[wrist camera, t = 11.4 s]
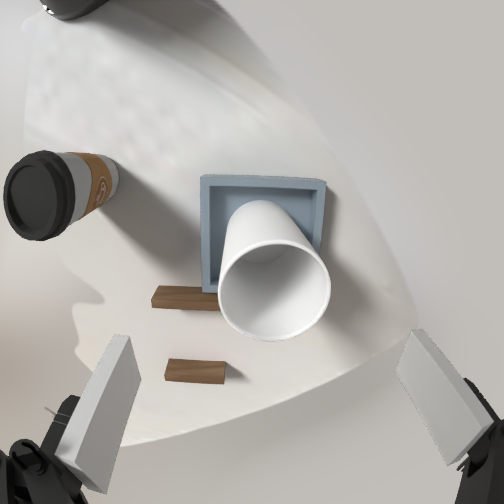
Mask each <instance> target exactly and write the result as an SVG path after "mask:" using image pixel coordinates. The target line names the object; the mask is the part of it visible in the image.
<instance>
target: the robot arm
mask: <svg viewBox="0 0 504 504" xmlns="http://www.w3.org/2000/svg"><path fill="white" fill-rule="evenodd" d="M40 1H41V3H42V4H43V7H44V9H45V11H46V12H47V13H48V14H50V15H52V16H53V17H55V18H57V19H60V20H70V19H74V18H78V17H81V16H83V15H85V14H88V13H89V12H91V11H93V10H95V9H97V8H98V7H100V6H101V5H103V4H104V3H105V2H107V1H108V0H40ZM395 372H396V374H397V376H398V378H399V379H400V381H401V383H402V384H403V386H404V387H405V389H406V391H407V393H408V395H409V396H410V398H411V400H412V401H413V403H414V405H415V407H416V409H417V410H418V412H419V414H420V416H421V418H422V419H423V421H424V423H425V424H426V427H427V428H428V430H429V432H430V434H431V436H432V438H433V440H434V442H435V443H436V445H437V447H438V449H439V451H440V453H441V455H442V457H443V459H444V461H445V463H446V465H447V466H449V465H451V464H453V463H454V462H457V461H459V460H460V459H461V458H462V457H463V456H464V455H465V454H466V453H468V455H469V457H468V458H466V460H465V461H463V462H462V463H461V464H460V466H458V468H457V471H459V470H460V469H461V468H462V467H463V466H464V465H465V466H464V468H463V469H462V470H461V471H462V472H463V475H462V479H461V483H460V487H459V490H458V494H457V497H456V501H455V504H504V419H503V420H500V418H499V417H498V416H497V415H496V413H495V412H494V410H493V409H492V408H491V406H490V405H489V403H488V402H487V401H486V399H484V398H483V395H482V394H481V393H479V390H478V389H477V387H476V386H475V385H474V384H473V383H472V382H471V381H469V380H468V379H467V378H462V377H461V375H460V374H459V373H458V372H457V370H456V369H455V368H454V367H453V365H452V364H451V363H450V361H449V360H448V359H447V358H446V357H445V355H444V354H443V353H442V352H441V350H440V349H439V348H438V347H437V346H436V344H435V343H434V342H433V341H432V340H431V338H430V337H429V336H428V335H427V334H426V333H425V331H424V330H423V329H419V330H412V331H411V332H410V335H409V338H408V340H407V343H406V346H405V348H404V351H403V353H402V356H401V358H400V361H399V363H398V365H397V368H396V370H395ZM140 382H141V376H140V373H139V369H138V366H137V362H136V359H135V355H134V351H133V348H132V344H131V340H130V336H125V335H116V334H114V336H113V338H112V339H111V341H110V343H109V345H108V347H107V348H106V350H105V352H104V354H103V356H102V357H101V359H100V361H99V363H98V365H97V367H96V369H95V370H94V372H93V374H92V376H91V378H90V380H89V382H88V384H87V386H86V388H85V390H84V392H83V394H82V396H81V397H78V396H74V395H70V396H69V397H68V398H67V399H66V400H65V401H64V402H62V404H61V406H60V408H59V410H58V412H57V414H56V416H55V418H54V422H52V424H51V426H50V428H49V430H48V432H47V434H46V436H45V438H44V440H43V442H42V445H41V447H40V448H39V447H38V445H36V444H35V443H34V442H33V441H31V440H28V439H21V440H18V441H16V442H15V443H14V444H13V445H12V446H11V448H10V451H9V456H7V455H5V453H4V452H3V451H1V450H0V504H88V502H87V500H86V498H85V496H84V494H83V492H82V491H81V490H80V489H81V486H82V484H84V485H85V486H86V487H87V488H88V489H90V490H93V491H96V492H100V493H103V494H107V490H108V486H109V482H110V479H111V475H112V471H113V468H114V464H115V461H116V457H117V454H118V450H119V447H120V443H121V440H122V437H123V434H124V430H125V427H126V424H127V421H128V418H129V415H130V412H131V408H132V405H133V402H134V399H135V396H136V393H137V391H138V388H139V385H140Z"/></svg>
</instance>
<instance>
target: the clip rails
mask: <svg viewBox="0 0 504 504" xmlns="http://www.w3.org/2000/svg"><path fill="white" fill-rule="evenodd" d="M151 303H152V308H163V309H182V310H207V311H221V309H220V306H219V300H218V293H206V292H202V287H183V286H158V288H157V290H156V292H155V293H154V295H153V297H152V299H151ZM164 376H165V381H175V382H187V383H204V384H224V380H225V362H224V361H199V360H182V359H169V361H168V364H167V368H166V371H165V375H164Z"/></svg>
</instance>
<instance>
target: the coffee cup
mask: <svg viewBox="0 0 504 504" xmlns="http://www.w3.org/2000/svg"><path fill="white" fill-rule="evenodd" d="M118 183H119V174H118V170H117V167H116V165H115V163H114V162H113V161H112V160H111V159H110V158H108V157H107V156H104V155H99V154H90V153H76V152H66V153H54V152H51V151H46V150H43V151H38V152H35V153H31V154H28V155H27V156H25V157H23V158H22V159H21V160H20V161H19V162H17V163H16V164H15V165H14V166H13V167H12V169H11V170H10V172H9V174H8V176H7V178H6V181H5V185H4V194H3V200H4V208H5V212H6V216H7V218H8V221H9V223H10V225H11V226H12V228H13V229H14V230H15V232H16V233H17V234H19V235H20V236H21V237H22V238H25V239H27V240H36V241H45V240H48V239H50V238H53V237H56V236H59V235H60V234H61V233H62V232H63V231H64V230H65V229H66V228H67V227H68V226H69V225H71V224H72V223H74V222H75V221H77V220H80V219H81V218H83V217H84V216H86V215H87V214H89V213H90V212H92V211H93V210H95V209H96V208H98V207H99V206H100V205H102V204H103V203H105V202H106V201H108V200H109V199H111V198H112V196H113V195H114V194H115V192H116V190H117V188H118Z"/></svg>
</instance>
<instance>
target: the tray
mask: <svg viewBox="0 0 504 504" xmlns="http://www.w3.org/2000/svg"><path fill="white" fill-rule="evenodd" d="M325 194H326V181H323V180H320V179H311V178H296V177H278V176H255V175H203V176H201V177H200V218H201V266H202V292H206V293H218V285H219V278H220V271H221V264H222V257H223V251H224V245H225V238H226V232H227V226H228V223H229V220H230V218H231V216H232V215H233V213H234V212H235V211H236V210H237V209H238V208H239V207H241V206H242V205H244V204H246V203H248V202H251V201H256V200H265V201H270V202H273V203H275V204H277V205H279V206H281V207H282V208H283V209H284V210H285V211H286V212H287V213H288V215H289V216H290V217H291V219H292V220H293V221H294V223H295V224H296V225H297V227H298V228H299V229H300V231H301V232H302V233H303V235H304V236H305V237H306V239H307V240H308V241H309V243H310V244H311V246H312V247H313V248H314V250H315V251H316V253H317V254H318V255H319V253H320V244H321V235H322V226H323V216H324V205H325Z"/></svg>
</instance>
